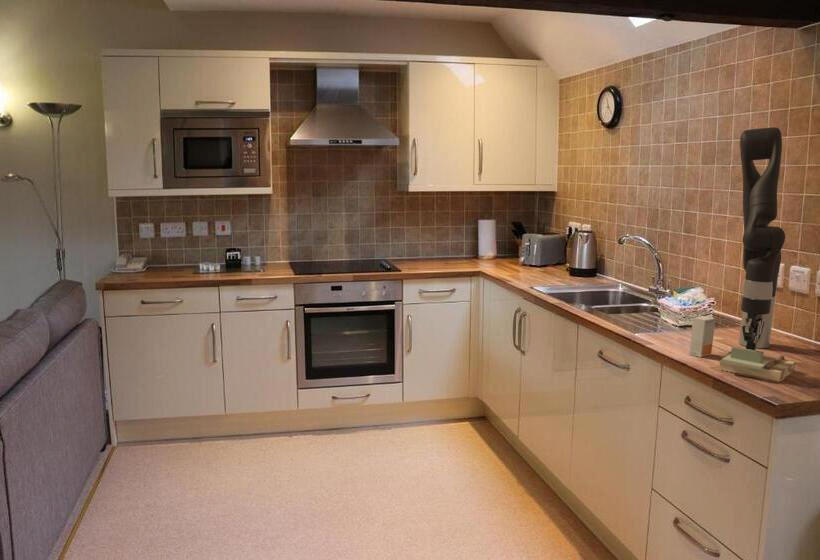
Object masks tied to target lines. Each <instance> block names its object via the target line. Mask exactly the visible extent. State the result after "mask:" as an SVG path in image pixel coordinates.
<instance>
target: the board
mask: <svg viewBox="0 0 820 560" xmlns="http://www.w3.org/2000/svg"><path fill="white" fill-rule="evenodd" d="M730 354H731V350H730V351H729V352H726V353H725V354H723V355H721V356H720V358H719V366H718V370H719V371H721V370H723V371H722V372H726V371H728V372H727V373H730V372H733V373H732V374H735V373H737V374H736V375H741V376H745V377H748V378H749V377H751V378H755V379H759V380H765V381H768V382H772V383H773V382H774V383H778V384H779V383H780V382H782V381H783V380H785V379H786V378H787V377H789V376H790V375H791V374H793V373H794V372H795V369H796V361H795V360H790V359H785V357H786V356H785V355H780V356H778V357H774V356H769V355H764V354H763V359H764V360H769V361H771V363H769V364H768V365H766V367H765V368H763V369H762V370H760V369H755V368H750V367H745V366H740V365H735V364H730V363H726V362H722V359H723V358H724V357H726V356H728V355H730Z"/></svg>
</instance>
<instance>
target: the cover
mask: <svg viewBox="0 0 820 560" xmlns="http://www.w3.org/2000/svg"><path fill="white" fill-rule="evenodd" d="M730 351H731V354H730V355H728V356H726V357H724V358H723V359H722V362H726V363H730V364H735V365H740V366H745V367H750V368H755V369H760V370H762V369H763V368H765V367H766V365H768V364H769V363H771V361H769V360H764V359H763V355H764V351H759V350H757V349H756V350H750V349H746V347H745V348H744V347H739V346H732V347H731V350H730Z"/></svg>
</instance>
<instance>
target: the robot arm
mask: <svg viewBox="0 0 820 560" xmlns="http://www.w3.org/2000/svg"><path fill="white" fill-rule="evenodd" d="M739 149H740V151H739V152H740V161H741V172H742V213H743V214H742V215H743V230H744V231H743V236H742V240H741V241H742V245H743V253H742V254H743V255H742V266H743V270H744V271H745V277H744V283H743V287H742V295H741V296H742V297H741V304H740V310H741V312H742V313H741V320H740V321H741V322H740V330H739V331H740V332H739V339H738V344H739V345H741V346H744V347H745V349H750V350H756V351H757V349H768V348H769V347H770V342H771V337H772V335H771V334H772V329H773V328H772V327H773V319H774V310H775V302H776V295H777V286H778V280H779V273H780V267H781V264H782V249H783V247H784V245H785V242H786V233H785V231H784V230H783V228H782V227H779V226H769V225H770V223H771V222H774V221H775V220H776V219H777V217H778V186H779V185H778V184H779V179H780V170H781V163H782V162H781V160H782V152H783V136H782V132H781V130H780V128H779V127H776V126H775V127H764V128H763V127H762V128H761V127H760V128H752V129H746V130H743V131H742V132H741V134H740V139H739ZM763 160H764V161H765V160H768V164H767V166H766V168H765V170H764V171H763V173H762V174H760V172H759V171H758V170H757V167H756V166H755V163H754V161H763Z"/></svg>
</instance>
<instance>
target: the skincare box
mask: <svg viewBox="0 0 820 560" xmlns="http://www.w3.org/2000/svg"><path fill="white" fill-rule="evenodd" d="M715 324H716V317H711V316H707V315H702V316H700V315H699V316H696V317H693V318H692V326H691V334H690V335H691V336H690V343H689V351H688V354H689V355H690V356H695V357H697V356H698V358H704V357H707V356H712V351H713V343H714V336H715V326H716V325H715Z"/></svg>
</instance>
